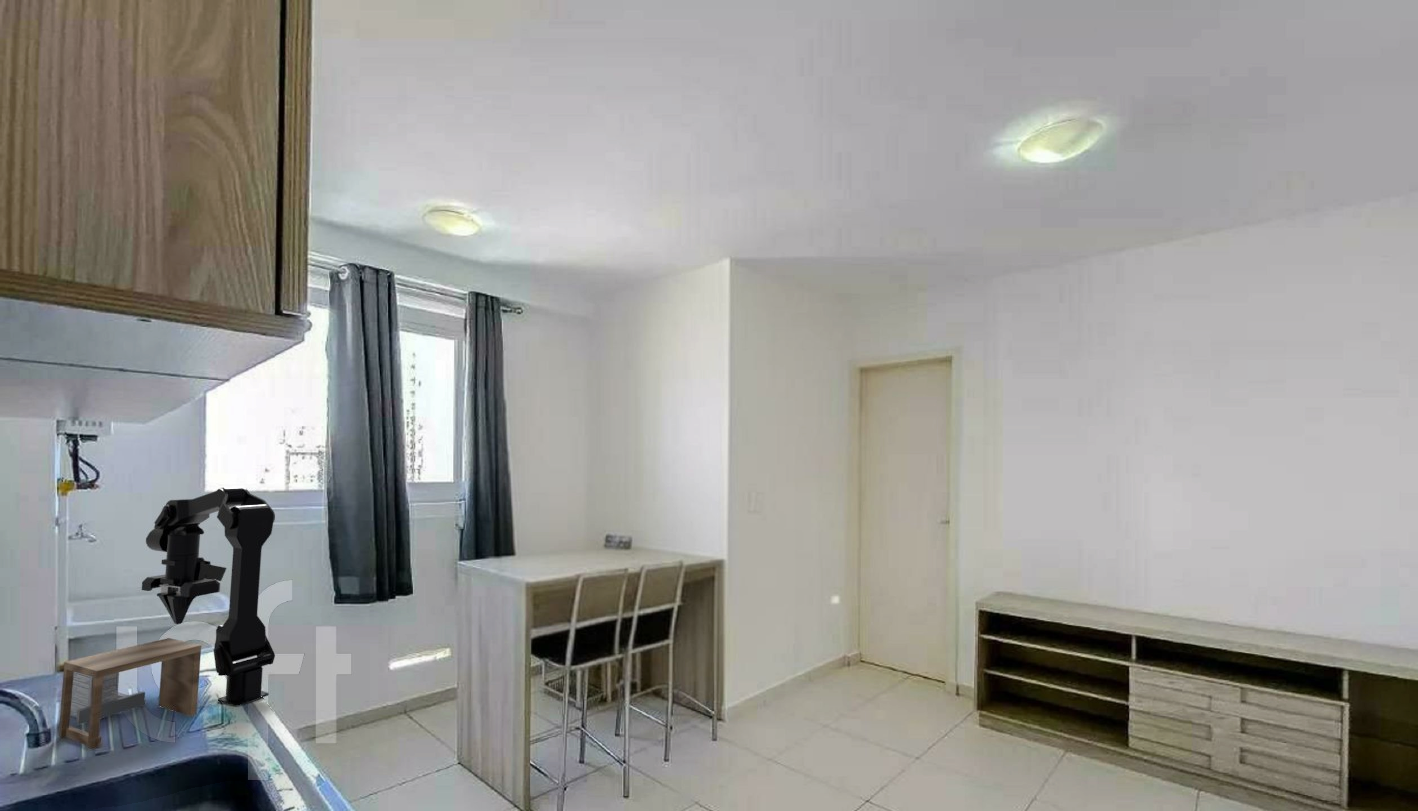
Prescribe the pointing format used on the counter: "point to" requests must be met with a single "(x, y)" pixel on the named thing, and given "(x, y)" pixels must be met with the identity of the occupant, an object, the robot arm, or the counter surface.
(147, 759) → the counter surface
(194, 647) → the walnut shelf
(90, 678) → the medicine box
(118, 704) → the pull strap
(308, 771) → the counter surface
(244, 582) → the robot arm
